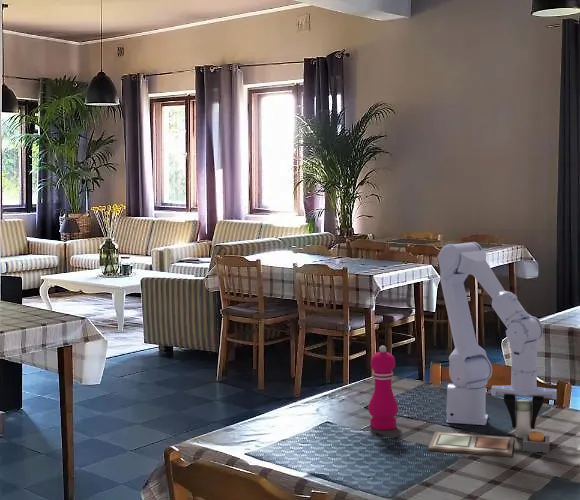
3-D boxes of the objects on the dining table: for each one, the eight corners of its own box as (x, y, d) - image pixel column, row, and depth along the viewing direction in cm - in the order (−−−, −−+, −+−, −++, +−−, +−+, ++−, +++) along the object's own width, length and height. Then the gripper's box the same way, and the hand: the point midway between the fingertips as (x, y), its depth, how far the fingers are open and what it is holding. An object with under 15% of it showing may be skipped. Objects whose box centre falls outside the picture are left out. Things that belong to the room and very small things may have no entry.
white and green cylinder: (514, 437, 198) (515, 403, 197) (515, 433, 202) (515, 399, 201) (531, 439, 197) (531, 404, 196) (531, 434, 200) (532, 400, 200)
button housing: (522, 451, 189) (522, 441, 189) (523, 443, 194) (523, 434, 194) (549, 453, 187) (549, 443, 187) (549, 445, 193) (549, 435, 192)
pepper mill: (397, 431, 205) (396, 349, 203) (366, 430, 206) (366, 348, 204) (399, 422, 212) (398, 343, 210) (370, 421, 213) (369, 342, 211)
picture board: (428, 450, 191) (428, 446, 191) (435, 433, 202) (435, 430, 202) (511, 456, 186) (511, 453, 185) (514, 439, 197) (514, 436, 197)
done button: (528, 443, 190) (528, 435, 189) (529, 438, 193) (529, 430, 192) (543, 444, 189) (543, 436, 188) (543, 439, 192) (543, 431, 191)
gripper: (490, 372, 196) (490, 429, 197) (557, 375, 192) (556, 434, 193) (492, 365, 203) (492, 421, 204) (556, 368, 198) (556, 425, 200)
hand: (523, 427), depth 199 cm, fingers closed on white and green cylinder, 4 cm apart
